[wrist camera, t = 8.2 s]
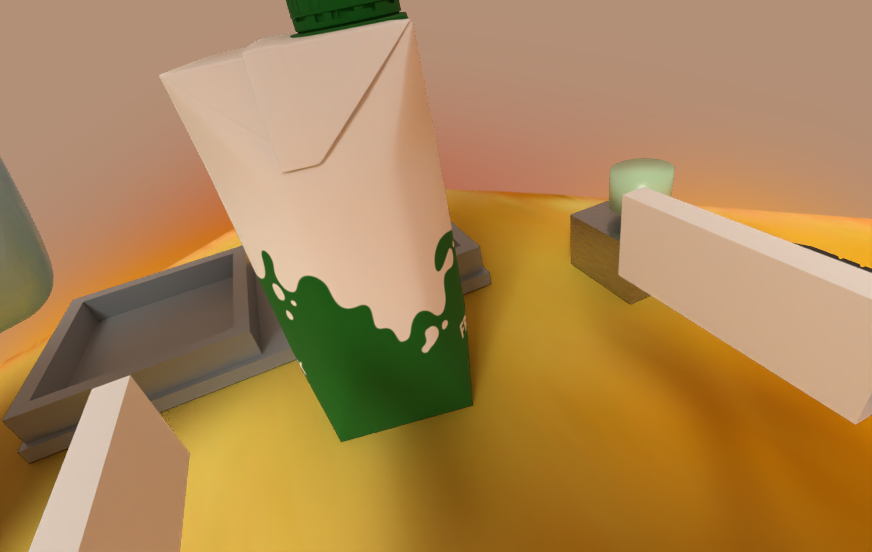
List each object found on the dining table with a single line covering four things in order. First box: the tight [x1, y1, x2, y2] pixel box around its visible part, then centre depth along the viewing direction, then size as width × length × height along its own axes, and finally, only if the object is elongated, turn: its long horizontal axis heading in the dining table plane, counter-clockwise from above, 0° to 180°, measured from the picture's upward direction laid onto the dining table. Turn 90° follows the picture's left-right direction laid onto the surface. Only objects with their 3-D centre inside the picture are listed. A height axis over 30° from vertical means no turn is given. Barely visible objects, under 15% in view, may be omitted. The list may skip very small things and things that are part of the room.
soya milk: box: [159, 0, 473, 442], centre depth 21 cm, size 9×9×20 cm
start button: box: [609, 158, 675, 215], centre depth 28 cm, size 4×4×2 cm
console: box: [570, 201, 650, 304], centre depth 30 cm, size 6×6×4 cm
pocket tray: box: [2, 222, 491, 463], centre depth 34 cm, size 30×14×3 cm, turn 112°
